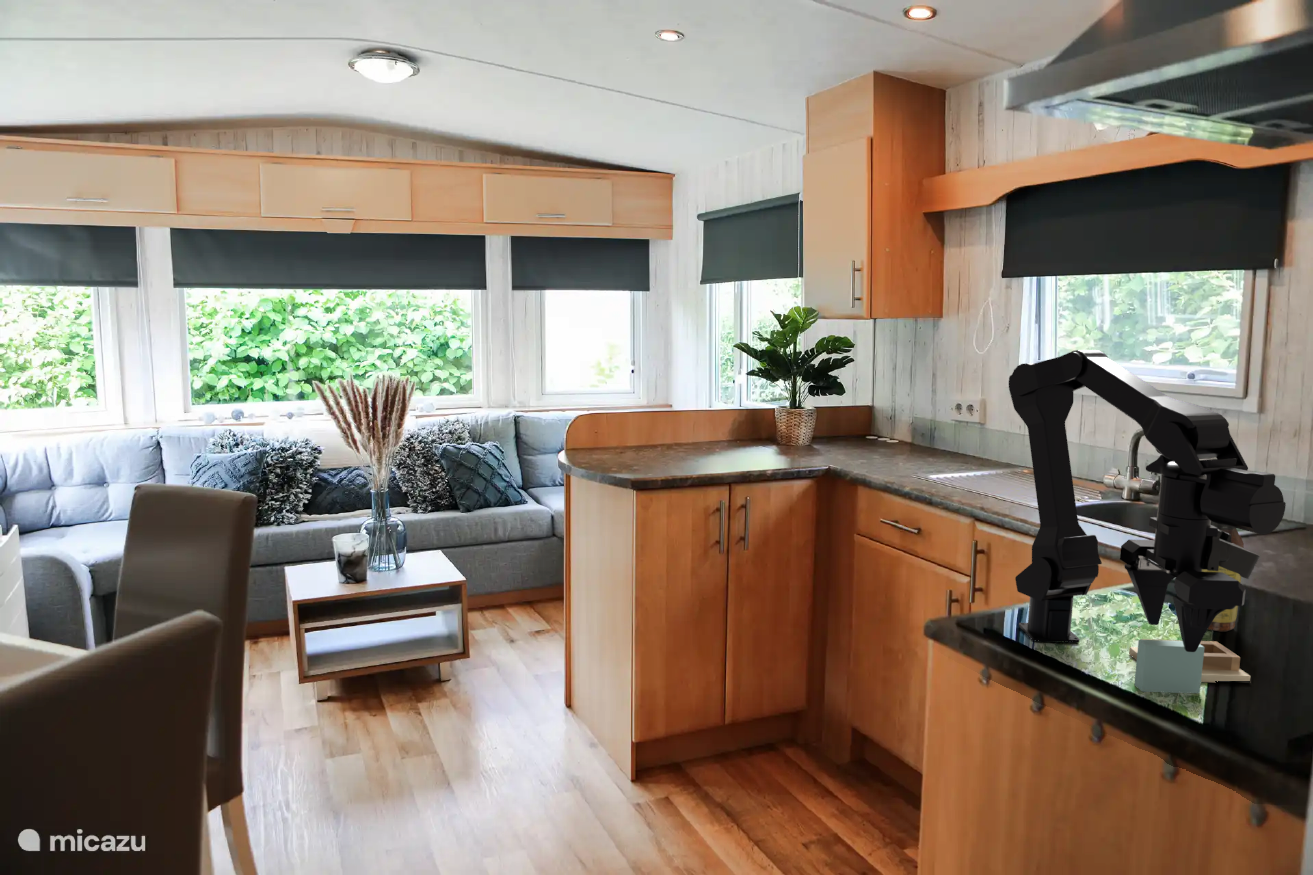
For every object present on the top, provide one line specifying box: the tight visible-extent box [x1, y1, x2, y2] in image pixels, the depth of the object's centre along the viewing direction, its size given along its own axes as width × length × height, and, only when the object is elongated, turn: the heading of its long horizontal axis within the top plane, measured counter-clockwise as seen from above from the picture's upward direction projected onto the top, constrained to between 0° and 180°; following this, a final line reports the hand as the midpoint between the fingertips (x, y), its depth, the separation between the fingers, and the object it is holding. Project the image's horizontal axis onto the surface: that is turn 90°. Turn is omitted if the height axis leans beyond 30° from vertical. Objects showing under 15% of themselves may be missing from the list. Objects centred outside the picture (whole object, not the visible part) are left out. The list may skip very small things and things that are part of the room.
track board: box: [1128, 638, 1251, 683], centre depth 123 cm, size 9×11×3 cm
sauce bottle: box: [1202, 521, 1245, 633], centre depth 138 cm, size 7×6×20 cm
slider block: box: [1133, 639, 1205, 694], centre depth 116 cm, size 2×7×6 cm, turn 87°
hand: (1171, 637), depth 116 cm, fingers open, 9 cm apart
